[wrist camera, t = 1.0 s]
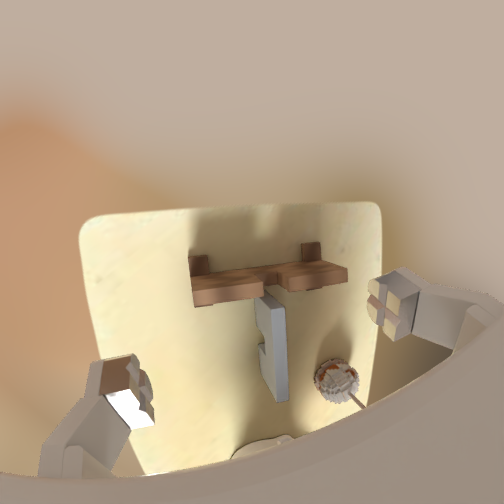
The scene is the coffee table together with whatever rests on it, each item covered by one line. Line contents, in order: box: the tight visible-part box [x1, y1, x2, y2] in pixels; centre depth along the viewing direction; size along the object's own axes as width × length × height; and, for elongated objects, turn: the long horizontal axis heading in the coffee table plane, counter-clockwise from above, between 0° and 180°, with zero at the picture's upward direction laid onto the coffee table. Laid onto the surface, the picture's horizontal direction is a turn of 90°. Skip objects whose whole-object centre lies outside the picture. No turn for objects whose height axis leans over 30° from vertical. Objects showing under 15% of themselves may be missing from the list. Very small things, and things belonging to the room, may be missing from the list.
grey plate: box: [254, 290, 289, 403], centre depth 46 cm, size 16×2×10 cm, turn 5°
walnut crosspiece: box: [188, 242, 348, 308], centre depth 44 cm, size 22×8×10 cm, turn 95°
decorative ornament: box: [314, 359, 366, 409], centre depth 48 cm, size 8×8×15 cm
